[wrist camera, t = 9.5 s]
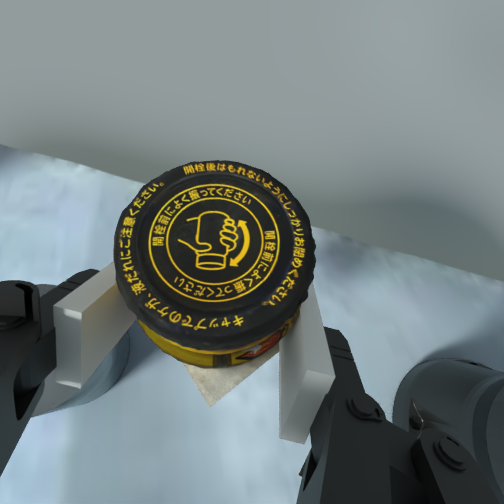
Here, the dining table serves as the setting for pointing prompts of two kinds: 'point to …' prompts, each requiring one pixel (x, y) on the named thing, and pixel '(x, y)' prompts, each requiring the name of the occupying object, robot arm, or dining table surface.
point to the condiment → (215, 268)
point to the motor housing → (95, 386)
